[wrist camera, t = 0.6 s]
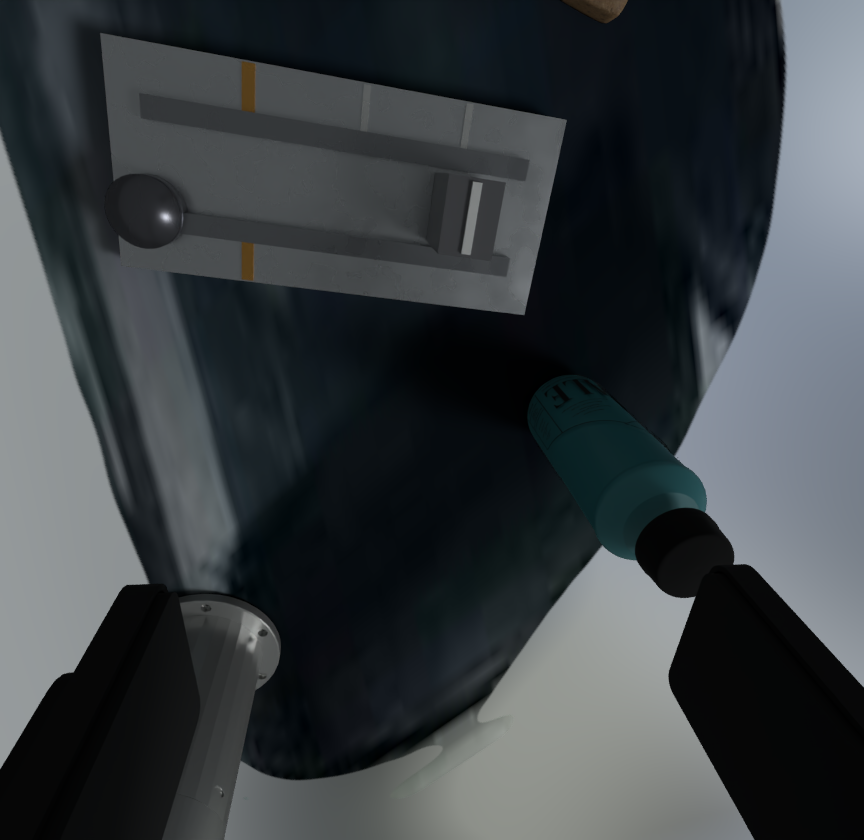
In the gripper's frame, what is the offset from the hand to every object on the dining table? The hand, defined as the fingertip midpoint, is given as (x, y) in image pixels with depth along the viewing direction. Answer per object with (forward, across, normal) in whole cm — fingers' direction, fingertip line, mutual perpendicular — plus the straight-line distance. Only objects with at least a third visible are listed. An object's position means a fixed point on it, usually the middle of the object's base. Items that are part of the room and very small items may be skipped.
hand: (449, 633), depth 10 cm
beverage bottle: (+31, -13, +9) cm, 35 cm away
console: (+31, +3, -5) cm, 32 cm away
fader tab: (+29, -4, -5) cm, 29 cm away
